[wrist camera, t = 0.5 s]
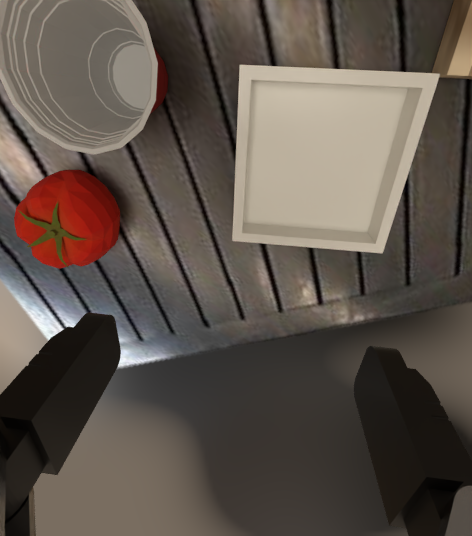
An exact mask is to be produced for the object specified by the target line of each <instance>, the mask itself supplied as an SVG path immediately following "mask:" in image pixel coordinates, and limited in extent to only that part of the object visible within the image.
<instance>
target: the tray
mask: <svg viewBox="0 0 472 536" xmlns="http://www.w3.org/2000/svg"><path fill="white" fill-rule="evenodd" d="M439 76H440V74H437V73H414V72H392V71H369V70H346V69H324V68H301V67H279V66H256V65H240V71H239V95H238V118H237V142H236V166H235V190H234V214H233V238H232V241H240V242H252V243H264V244H276V245H289V246H301V247H313V248H325V249H337V250H349V251H361V252H373V253H383V250H384V247H385V244H386V241H387V238H388V235H389V232H390V229H391V226H392V222H393V219H394V216H395V213H396V210H397V207H398V204H399V201H400V198H401V194H402V191H403V188H404V185H405V182H406V179H407V176H408V173H409V170H410V166H411V163H412V160H413V157H414V154H415V151H416V148H417V145H418V142H419V138H420V135H421V132H422V129H423V126H424V123H425V120H426V117H427V114H428V110H429V107H430V104H431V101H432V98H433V95H434V92H435V89H436V86H437V82H438V79H439Z"/></svg>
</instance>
